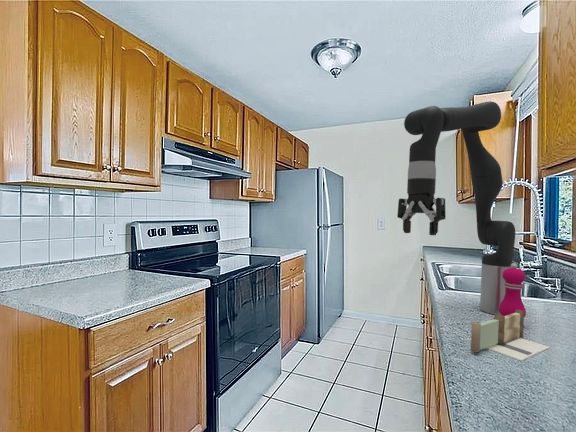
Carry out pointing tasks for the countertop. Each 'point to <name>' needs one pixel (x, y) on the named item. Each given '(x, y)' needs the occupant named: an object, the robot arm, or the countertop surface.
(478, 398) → the countertop surface
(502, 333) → the fence fixed
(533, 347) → the card
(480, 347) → the fence gate
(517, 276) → the pepper mill
